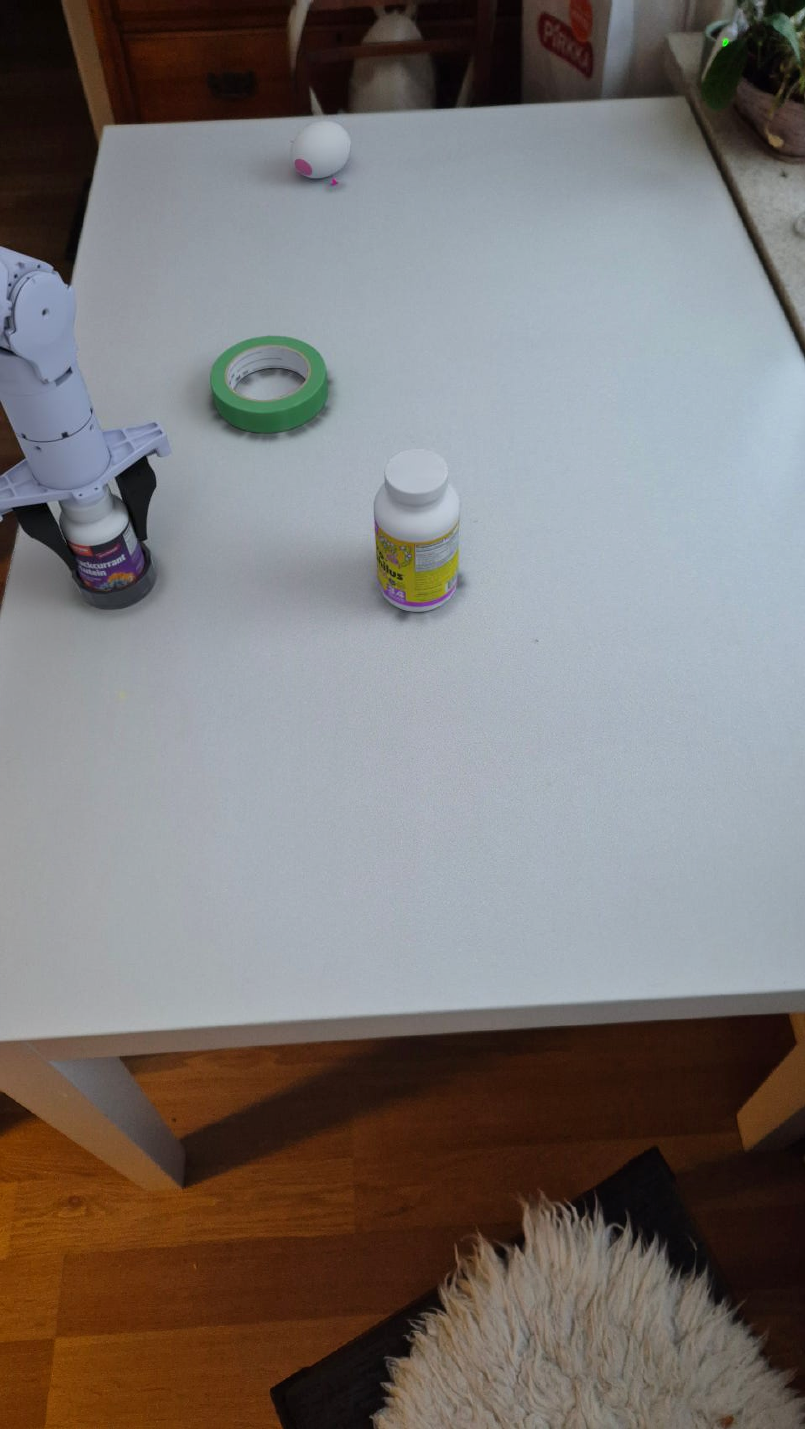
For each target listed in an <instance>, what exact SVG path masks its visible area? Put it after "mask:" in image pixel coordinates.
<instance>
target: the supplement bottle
mask: <svg viewBox="0 0 805 1429" xmlns="http://www.w3.org/2000/svg"><path fill="white" fill-rule="evenodd" d="M383 472H384V483H382V485H381V486H380V487H379V489H378V490H377V492H376V494H375V496H374V500H373V520H374V522H373V523H374V537H375V538H374V539H375V554H376V557H375V558H376V571H377V572H376V573H377V583H378V588H379V590H380V592H381V594H382V596H383V597H384V598H385V599H386V601H387V602H388V603H390V604H391V605H393V606H394V607H395V608H398V609H401V610H403V611H407V612H413V613H414V612H415V613H421V612H429V611H432V610H435V609H437V608H439V607H441V606H443V605H444V604H445V603H447V602H448V601H449V600H450V599H451V597H452V596H453V595H454V594H455V591H456V589H457V586H458V579H459V559H460V558H459V557H460V556H459V555H460V554H459V553H460V527H461V525H460V524H461V500H460V499H461V498H460V496H459V493H458V491H457V490H456V488H455V486H454V485H453V484H452V483H451V482H450V480H449V468H448V465H447V462H446V460H445V459H444V458H443V457H442V456H441V455H440V454H438V453H437V452H434V451H432V450H429V449H425V448H409V449H405V450H404V449H403V450H402V451H399V452H397V453H395V454H394V455H392V456H391V457H390V458H389V460H388V461H387V462H386V464H385V467H384V471H383Z"/></svg>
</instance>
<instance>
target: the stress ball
mask: <svg viewBox="0 0 805 1429" xmlns="http://www.w3.org/2000/svg"><path fill="white" fill-rule="evenodd" d="M290 142H291V145H290V148H289V149H290V150H289V156H290V157H289V158H290V161H291V164H292V166H293V167H294V169H295V170H296V171H297V172H298V173H299V174H301V175H302V176H304V177H307V178H311V179H323V178H324V179H325V178H327V177H330V176H331V179H332V182H331V186H334V185H336V184H339V183H340V182H338V181H337V180H336V179H335V178H334V174H336V173H338V172H339V171H340V170H341V169H342V168H343V167H344V166H345V165H346V164H347V162H348V160H349V158H350V155H351V152H352V142H351V138H350V135H349V134H348V132H347V130H346V129H345V128H344V127H343V126H342V125H340V124H339V123H336V122H334V121H329V120H319V121H315V122H312V123H309V124H307V125H306V126H304V127H302V129H301V130H299V131H298V132H297V134H296V135H295V136H294V138H293V140H290Z"/></svg>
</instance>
